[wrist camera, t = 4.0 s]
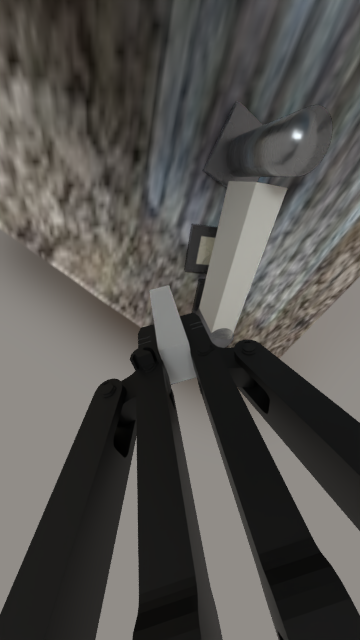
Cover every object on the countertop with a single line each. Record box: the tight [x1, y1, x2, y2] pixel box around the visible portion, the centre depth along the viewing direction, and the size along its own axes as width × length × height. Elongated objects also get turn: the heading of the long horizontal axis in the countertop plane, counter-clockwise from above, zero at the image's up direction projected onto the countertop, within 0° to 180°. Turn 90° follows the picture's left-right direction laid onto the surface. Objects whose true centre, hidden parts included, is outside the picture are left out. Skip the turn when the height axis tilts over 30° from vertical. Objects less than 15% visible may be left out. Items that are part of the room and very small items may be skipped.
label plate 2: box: [192, 279, 206, 314], centre depth 27 cm, size 7×5×1 cm
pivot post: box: [203, 101, 332, 188], centre depth 15 cm, size 5×5×9 cm
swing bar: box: [196, 181, 287, 348], centre depth 20 cm, size 16×3×5 cm, turn 172°
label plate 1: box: [184, 224, 218, 273], centre depth 23 cm, size 7×5×1 cm
